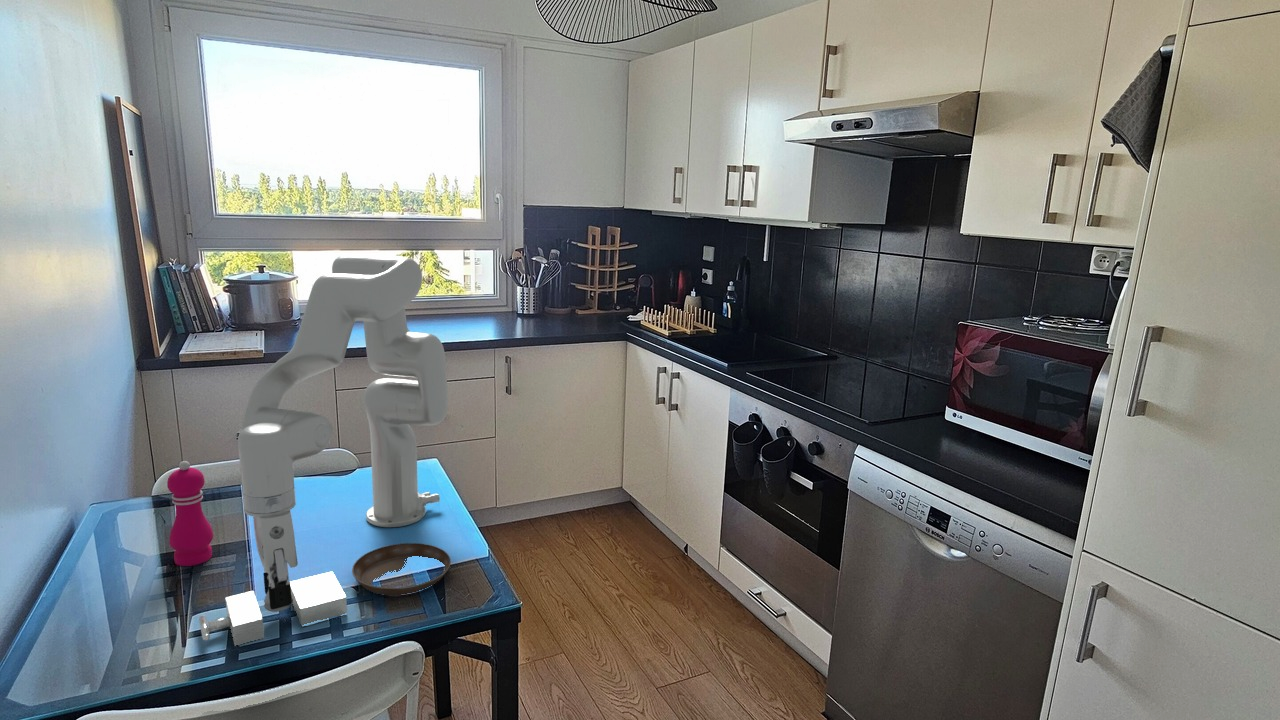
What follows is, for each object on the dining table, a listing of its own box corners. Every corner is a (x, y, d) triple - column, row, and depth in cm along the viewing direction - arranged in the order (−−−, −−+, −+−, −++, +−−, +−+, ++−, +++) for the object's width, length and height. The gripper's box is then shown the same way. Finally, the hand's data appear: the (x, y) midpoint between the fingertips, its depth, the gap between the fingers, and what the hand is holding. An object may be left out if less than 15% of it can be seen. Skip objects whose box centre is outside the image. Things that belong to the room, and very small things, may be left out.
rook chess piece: (270, 598, 125) (266, 556, 123) (297, 598, 126) (294, 555, 124) (259, 613, 121) (255, 569, 119) (287, 612, 121) (284, 569, 119)
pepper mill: (195, 570, 137) (185, 470, 133) (162, 564, 139) (151, 465, 134) (223, 552, 144) (215, 456, 140) (192, 547, 146) (182, 452, 141)
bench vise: (333, 588, 133) (332, 571, 132) (347, 615, 125) (346, 596, 124) (198, 623, 121) (196, 604, 120) (204, 654, 113) (202, 634, 112)
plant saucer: (447, 551, 149) (447, 537, 148) (454, 596, 133) (454, 580, 132) (355, 561, 144) (354, 547, 143) (350, 609, 127) (349, 593, 127)
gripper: (305, 513, 114) (313, 617, 118) (285, 476, 128) (292, 571, 132) (251, 524, 110) (261, 631, 114) (236, 485, 123) (246, 582, 128)
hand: (278, 598), depth 123 cm, fingers closed on rook chess piece, 4 cm apart
